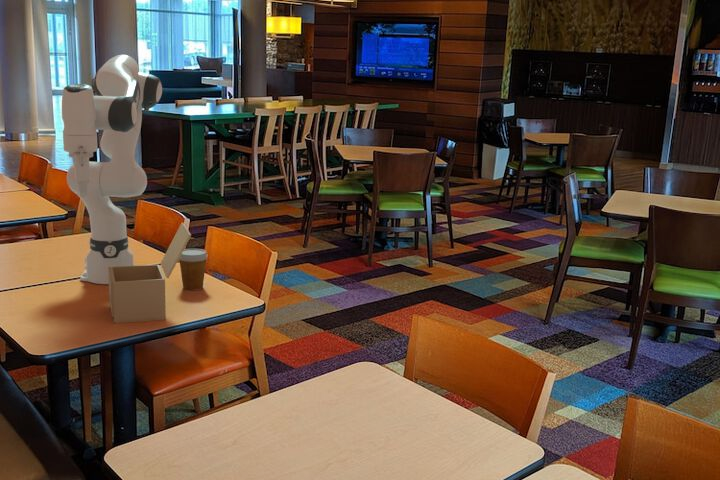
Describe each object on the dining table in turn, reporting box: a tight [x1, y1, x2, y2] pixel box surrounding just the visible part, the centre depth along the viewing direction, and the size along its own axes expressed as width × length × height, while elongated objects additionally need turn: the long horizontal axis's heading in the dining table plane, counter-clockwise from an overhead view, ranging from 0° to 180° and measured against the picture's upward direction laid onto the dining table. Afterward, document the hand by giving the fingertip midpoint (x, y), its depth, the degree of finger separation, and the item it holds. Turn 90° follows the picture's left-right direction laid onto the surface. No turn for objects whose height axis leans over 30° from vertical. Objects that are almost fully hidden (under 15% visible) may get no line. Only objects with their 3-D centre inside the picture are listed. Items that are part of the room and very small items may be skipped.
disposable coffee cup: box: [178, 248, 209, 291], centre depth 244 cm, size 10×10×12 cm
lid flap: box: [159, 222, 192, 279], centre depth 220 cm, size 16×14×1 cm
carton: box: [108, 264, 167, 324], centre depth 219 cm, size 16×15×12 cm
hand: (83, 193), depth 211 cm, fingers open, 8 cm apart
